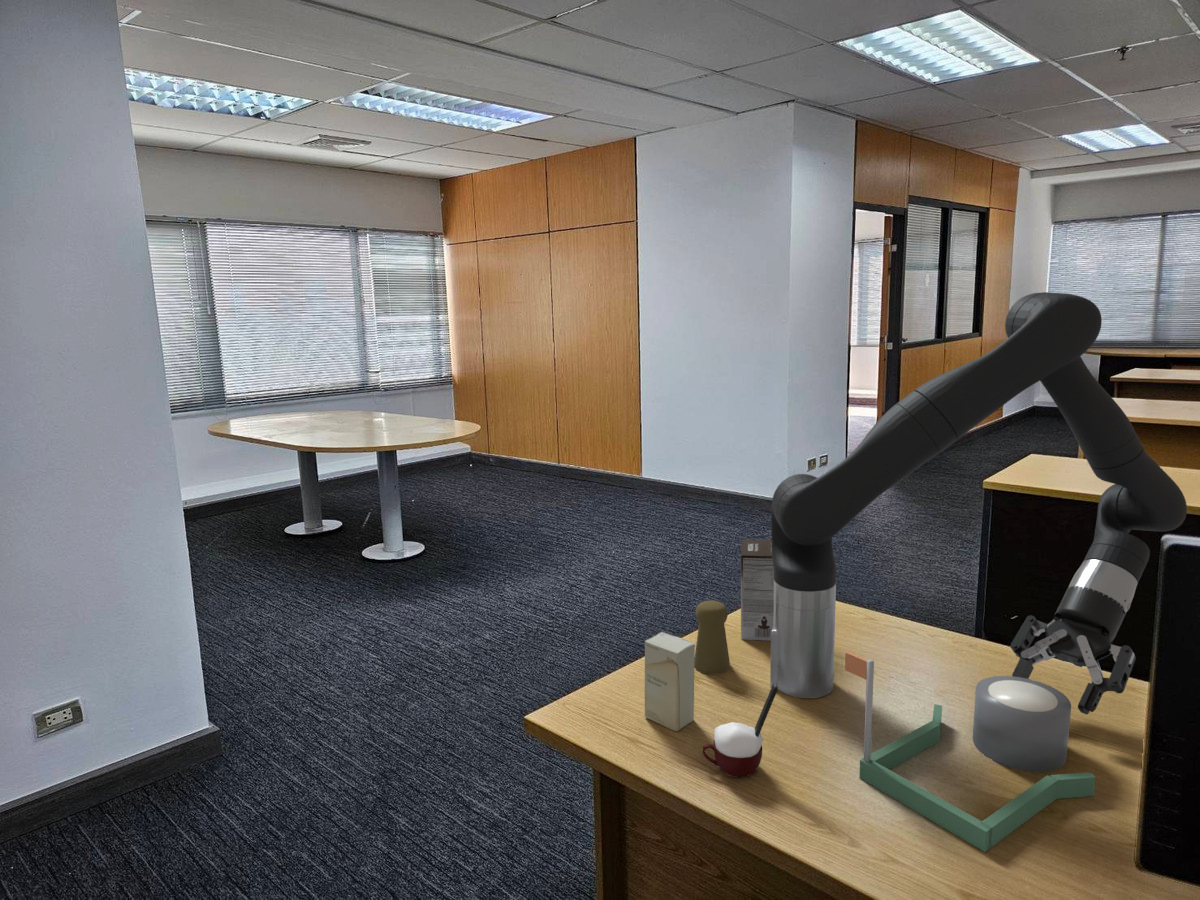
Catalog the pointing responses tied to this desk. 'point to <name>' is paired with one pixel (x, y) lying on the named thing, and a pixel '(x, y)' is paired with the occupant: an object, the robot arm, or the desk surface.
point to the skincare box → (669, 680)
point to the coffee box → (757, 590)
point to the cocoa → (740, 744)
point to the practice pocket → (937, 809)
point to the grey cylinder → (1021, 723)
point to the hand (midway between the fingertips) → (1049, 698)
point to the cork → (711, 638)
